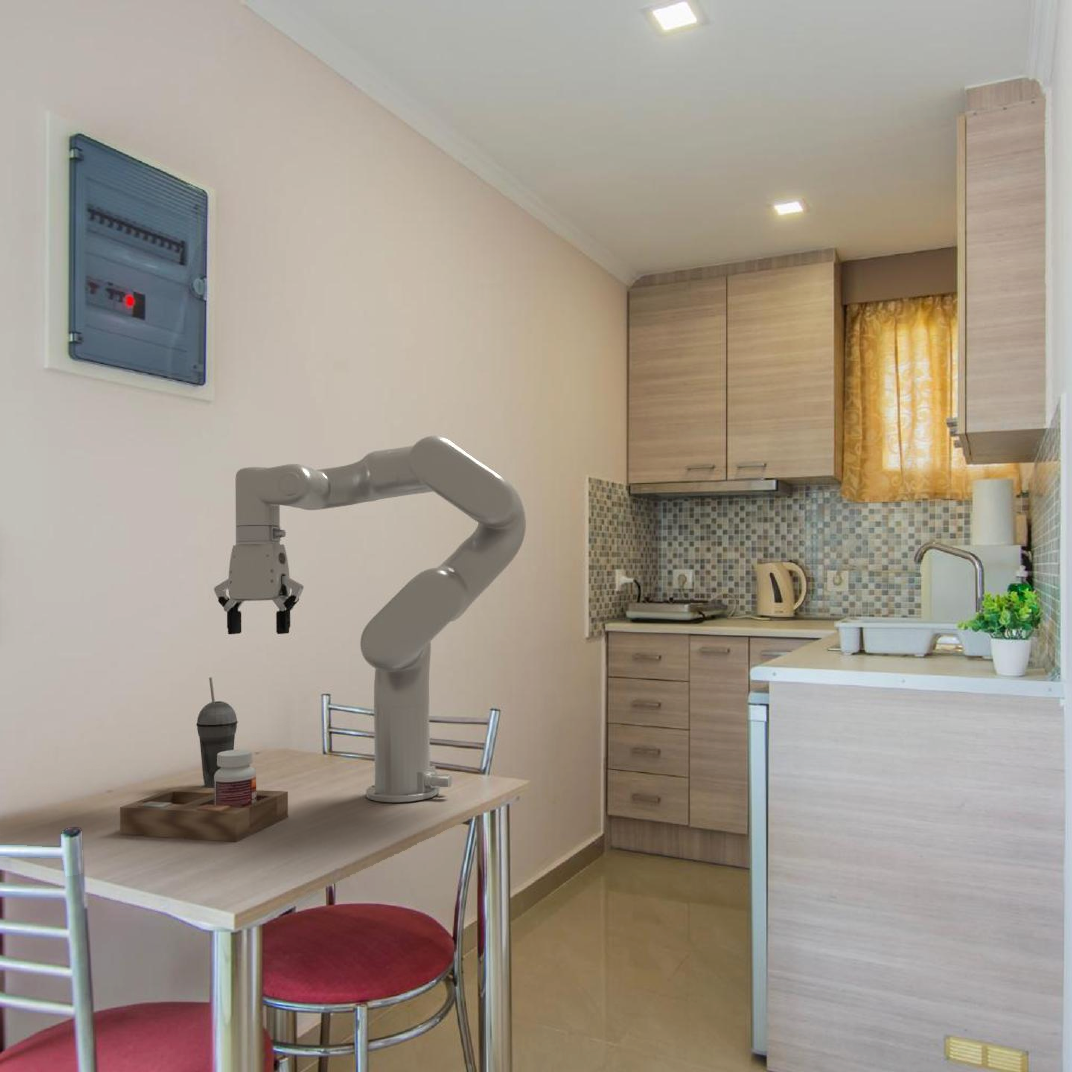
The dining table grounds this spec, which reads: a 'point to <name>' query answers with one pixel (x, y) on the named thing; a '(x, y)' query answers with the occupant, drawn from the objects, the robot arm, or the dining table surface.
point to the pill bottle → (235, 779)
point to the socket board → (201, 815)
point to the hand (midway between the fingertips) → (258, 633)
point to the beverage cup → (215, 735)
